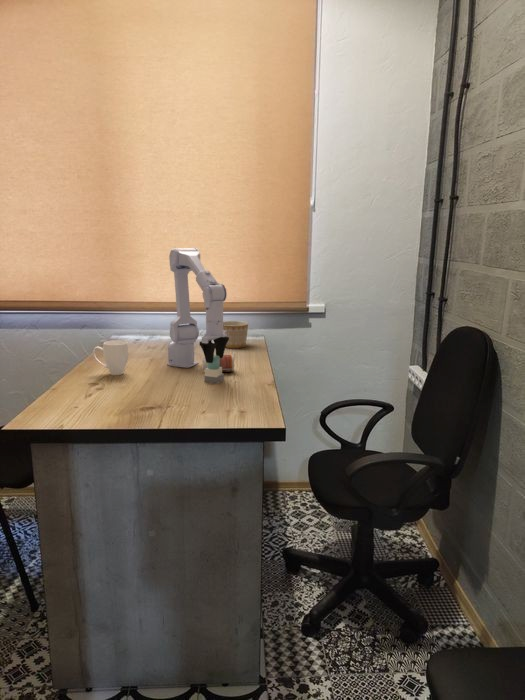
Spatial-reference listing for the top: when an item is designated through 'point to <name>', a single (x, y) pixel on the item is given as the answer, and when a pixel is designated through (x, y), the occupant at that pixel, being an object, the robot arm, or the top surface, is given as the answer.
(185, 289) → the robot arm
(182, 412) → the top surface
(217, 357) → the teal cylinder
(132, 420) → the top surface
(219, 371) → the tower top block
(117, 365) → the mug
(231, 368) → the pill bottle
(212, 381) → the tower base block
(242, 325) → the planter
